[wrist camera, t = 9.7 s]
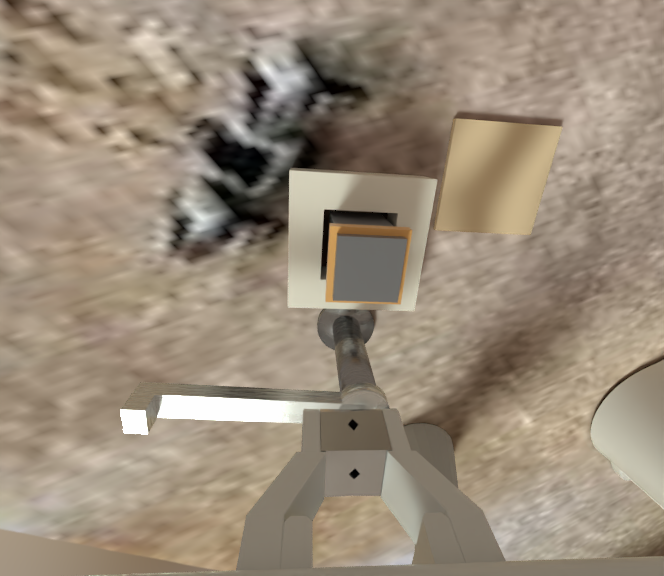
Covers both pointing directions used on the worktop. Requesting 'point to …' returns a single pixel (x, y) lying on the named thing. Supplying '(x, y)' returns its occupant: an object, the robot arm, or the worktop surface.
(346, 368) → the post
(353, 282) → the plug
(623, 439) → the robot arm
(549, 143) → the coaster
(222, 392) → the grey metal bar
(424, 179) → the socket
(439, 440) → the lava lamp
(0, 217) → the worktop surface
